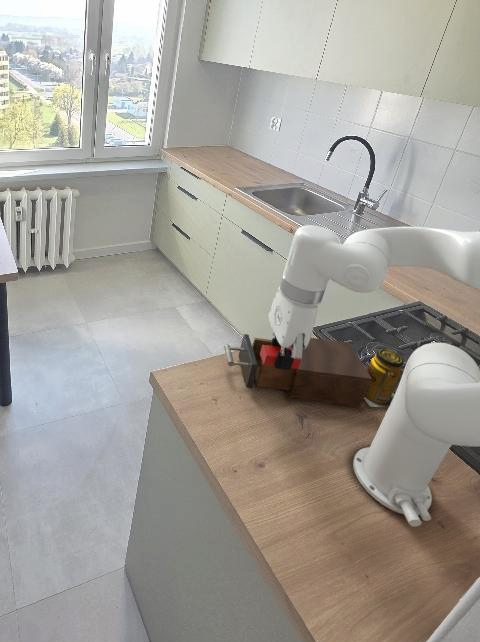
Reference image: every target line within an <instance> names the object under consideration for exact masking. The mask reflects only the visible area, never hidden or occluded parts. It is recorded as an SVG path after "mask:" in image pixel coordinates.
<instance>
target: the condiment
mask: <svg viewBox="0 0 480 642" xmlns="http://www.w3.org/2000/svg"><path fill="white" fill-rule="evenodd" d="M403 365H404V359H403V357H402V356H401V355H400V354H398V353H397V352H395V351H393V350H391V349H388V348H379V349H377V350H376V353H375V355H374V357H372V358H371V360H370V361H369V364H368V367H367V368H366V370H367V371H368V373H369V375H370V376H371V378H372V380H371V383H370V385H369V387H368V390H367V392H366V394H365V397H364V399H363V400H364V401H365V402H366V403H367V405H368V406H369V407H370V408H389V406H390V404H391V402H392V400H393V398H394V395H395V393H394V391H395V389H396V386H397V384H398V383H399V380H400V379H401V377H402V374H403V372H402V369H403Z"/></svg>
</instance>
